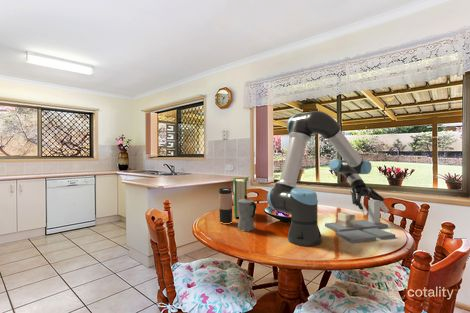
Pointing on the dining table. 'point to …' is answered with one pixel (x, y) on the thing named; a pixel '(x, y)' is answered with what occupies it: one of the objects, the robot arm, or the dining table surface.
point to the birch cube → (346, 219)
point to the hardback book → (239, 192)
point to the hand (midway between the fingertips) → (376, 213)
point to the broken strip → (364, 235)
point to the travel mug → (225, 205)
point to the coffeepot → (246, 214)
